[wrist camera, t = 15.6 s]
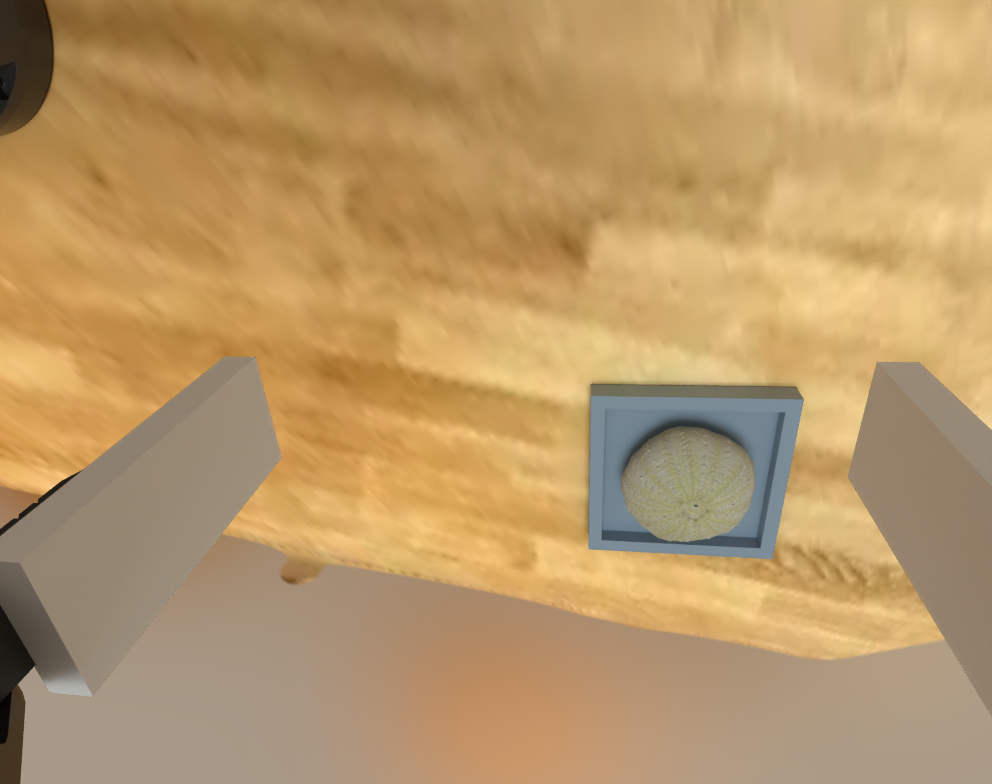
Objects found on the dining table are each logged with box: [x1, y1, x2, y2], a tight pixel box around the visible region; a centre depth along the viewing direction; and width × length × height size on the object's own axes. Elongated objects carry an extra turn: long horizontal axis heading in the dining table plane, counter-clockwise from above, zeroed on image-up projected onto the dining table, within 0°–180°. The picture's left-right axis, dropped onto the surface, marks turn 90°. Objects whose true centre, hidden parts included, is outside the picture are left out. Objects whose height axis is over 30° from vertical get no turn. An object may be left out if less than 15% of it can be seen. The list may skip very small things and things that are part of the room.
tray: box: [589, 384, 804, 559], centre depth 46 cm, size 14×14×2 cm
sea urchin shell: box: [621, 426, 756, 542], centre depth 45 cm, size 9×8×8 cm
